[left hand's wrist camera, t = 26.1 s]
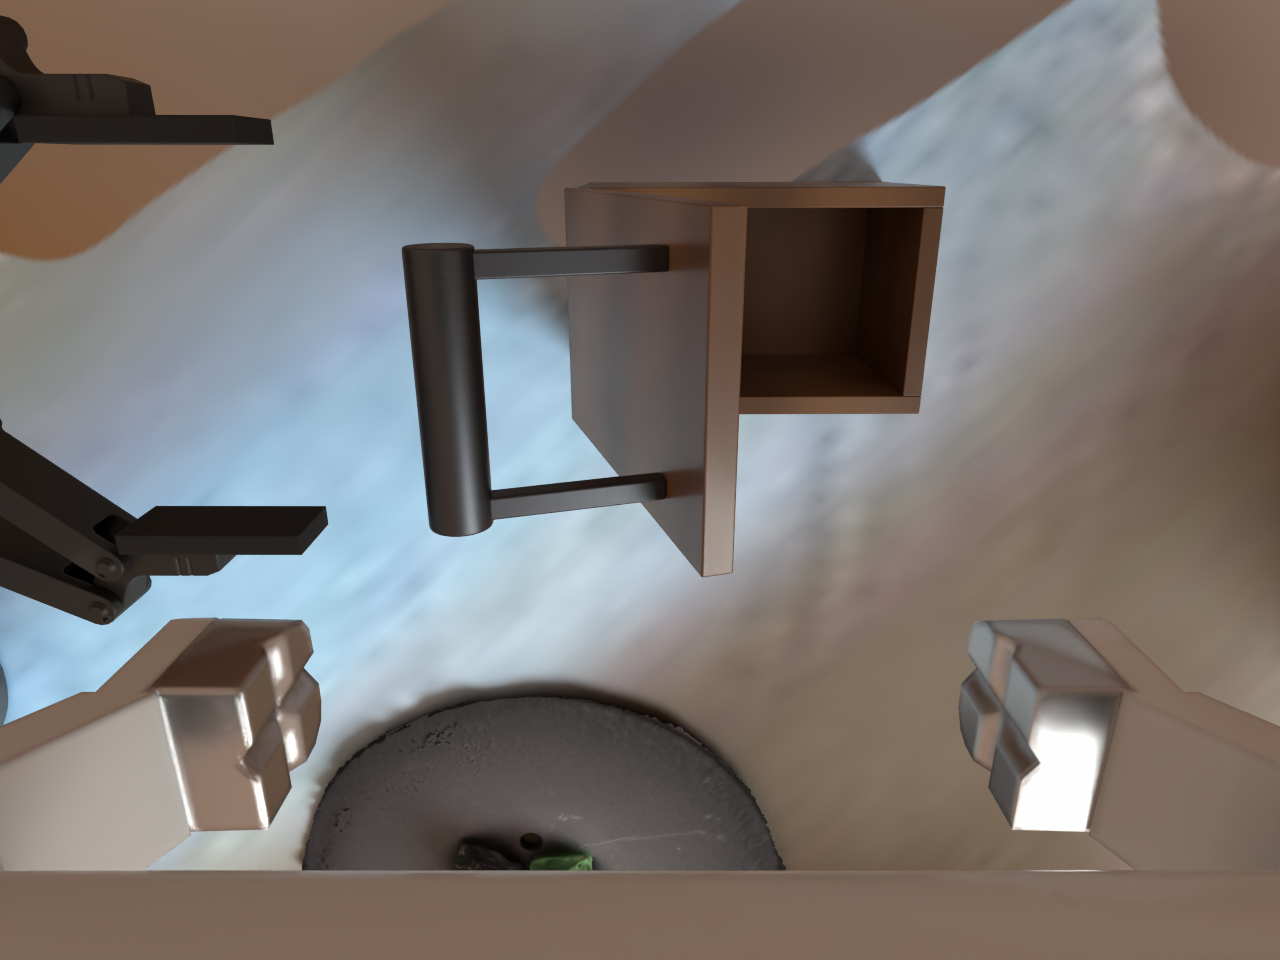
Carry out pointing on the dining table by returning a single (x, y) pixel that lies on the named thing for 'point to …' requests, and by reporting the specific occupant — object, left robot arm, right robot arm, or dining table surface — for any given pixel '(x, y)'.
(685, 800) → the round grey tray
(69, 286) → the dining table surface
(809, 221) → the chest
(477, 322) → the lid
